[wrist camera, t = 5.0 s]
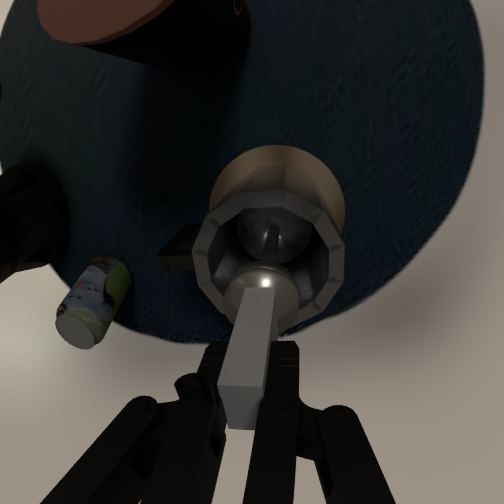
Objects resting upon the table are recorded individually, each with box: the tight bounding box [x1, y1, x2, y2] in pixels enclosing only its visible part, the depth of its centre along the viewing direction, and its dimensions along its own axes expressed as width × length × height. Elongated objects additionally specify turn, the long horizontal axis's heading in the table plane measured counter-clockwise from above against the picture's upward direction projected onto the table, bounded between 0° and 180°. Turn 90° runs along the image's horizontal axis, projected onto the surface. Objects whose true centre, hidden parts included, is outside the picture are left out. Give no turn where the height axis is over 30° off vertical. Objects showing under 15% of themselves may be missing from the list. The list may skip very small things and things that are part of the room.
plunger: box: [223, 207, 312, 334], centre depth 22 cm, size 7×7×13 cm
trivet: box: [209, 145, 345, 235], centre depth 31 cm, size 14×14×1 cm
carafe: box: [155, 165, 344, 327], centre depth 26 cm, size 13×10×12 cm
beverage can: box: [55, 255, 131, 349], centre depth 32 cm, size 6×7×12 cm
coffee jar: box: [37, 0, 252, 77], centre depth 17 cm, size 11×11×18 cm
